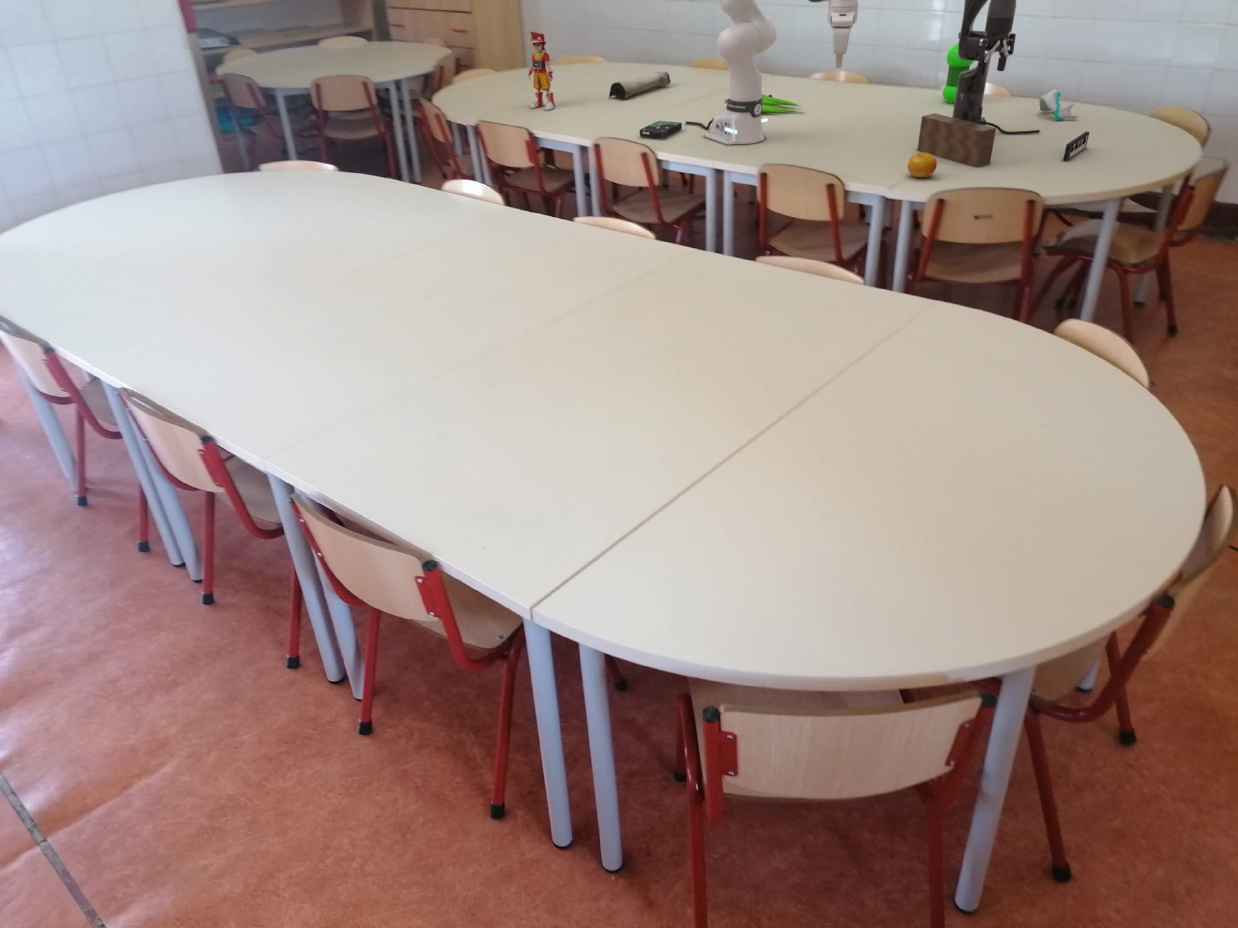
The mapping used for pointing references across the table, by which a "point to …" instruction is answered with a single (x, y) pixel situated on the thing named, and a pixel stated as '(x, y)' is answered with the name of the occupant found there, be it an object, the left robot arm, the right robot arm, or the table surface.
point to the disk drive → (660, 129)
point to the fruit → (922, 164)
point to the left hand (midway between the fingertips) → (838, 64)
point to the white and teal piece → (1055, 105)
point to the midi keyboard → (1076, 145)
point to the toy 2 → (769, 104)
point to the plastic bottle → (954, 73)
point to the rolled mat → (638, 84)
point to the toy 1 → (541, 71)
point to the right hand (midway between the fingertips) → (990, 73)
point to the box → (956, 139)
